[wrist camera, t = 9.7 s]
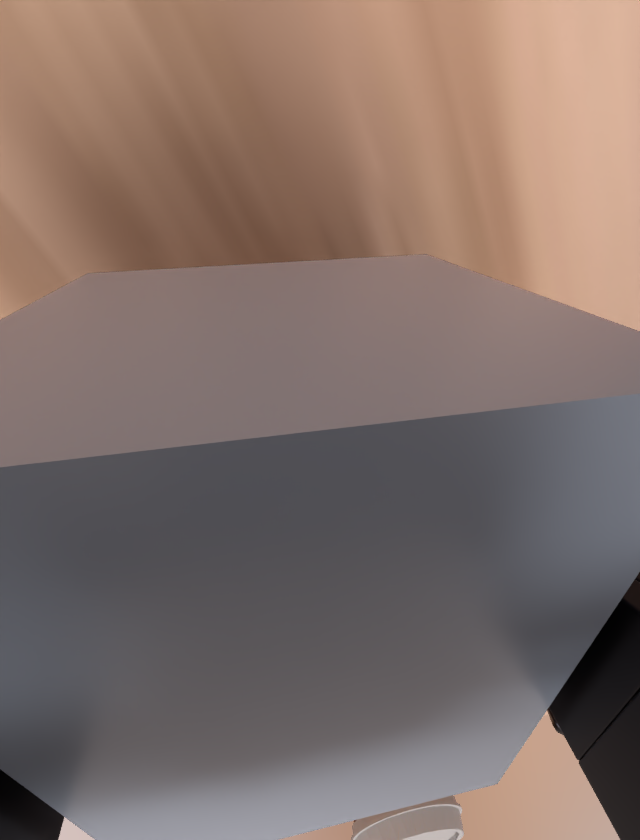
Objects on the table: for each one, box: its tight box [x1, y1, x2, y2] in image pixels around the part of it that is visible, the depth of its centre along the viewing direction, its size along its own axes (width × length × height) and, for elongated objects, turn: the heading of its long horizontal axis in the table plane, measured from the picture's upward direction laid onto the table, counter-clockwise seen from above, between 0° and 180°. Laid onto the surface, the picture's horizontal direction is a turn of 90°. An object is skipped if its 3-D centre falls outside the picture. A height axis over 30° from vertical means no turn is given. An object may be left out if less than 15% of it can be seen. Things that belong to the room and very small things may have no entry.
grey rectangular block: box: [0, 254, 640, 840], centre depth 8 cm, size 8×10×7 cm
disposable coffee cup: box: [351, 795, 464, 840], centre depth 35 cm, size 10×10×12 cm
